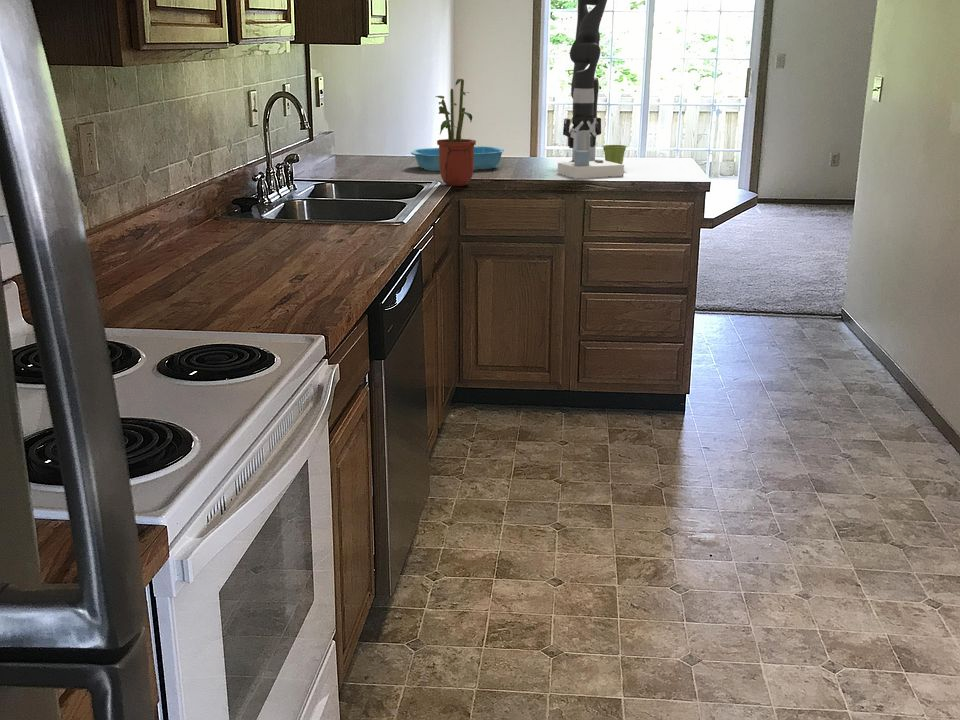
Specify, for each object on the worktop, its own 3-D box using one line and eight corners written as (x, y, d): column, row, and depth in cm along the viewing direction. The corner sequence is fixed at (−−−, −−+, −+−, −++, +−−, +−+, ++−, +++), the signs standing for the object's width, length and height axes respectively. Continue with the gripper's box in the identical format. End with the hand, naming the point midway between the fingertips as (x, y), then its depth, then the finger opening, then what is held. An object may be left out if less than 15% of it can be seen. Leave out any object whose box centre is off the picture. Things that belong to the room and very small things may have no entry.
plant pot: (597, 169, 372) (598, 146, 370) (606, 166, 380) (607, 144, 377) (620, 170, 368) (622, 147, 365) (629, 168, 376) (630, 145, 373)
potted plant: (483, 184, 332) (483, 78, 321) (457, 189, 319) (457, 79, 308) (441, 180, 341) (440, 77, 330) (415, 185, 328) (413, 78, 317)
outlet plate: (557, 173, 359) (558, 160, 358) (605, 171, 366) (605, 158, 365) (574, 178, 347) (575, 164, 346) (623, 175, 354) (624, 162, 353)
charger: (573, 175, 354) (574, 150, 352) (583, 175, 356) (584, 150, 353) (578, 177, 351) (579, 151, 348) (588, 176, 352) (589, 151, 349)
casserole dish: (420, 173, 359) (419, 154, 357) (404, 166, 379) (404, 148, 377) (512, 170, 371) (512, 151, 369) (492, 163, 391) (492, 145, 389)
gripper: (596, 100, 351) (594, 145, 356) (560, 101, 346) (559, 147, 351) (606, 101, 344) (603, 147, 349) (570, 102, 339) (568, 149, 344)
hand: (581, 147), depth 350 cm, fingers open, 8 cm apart
